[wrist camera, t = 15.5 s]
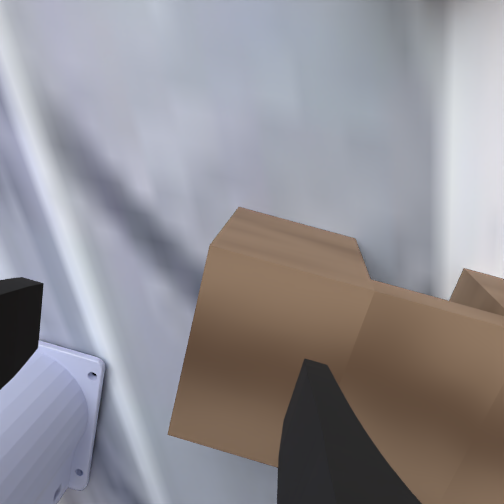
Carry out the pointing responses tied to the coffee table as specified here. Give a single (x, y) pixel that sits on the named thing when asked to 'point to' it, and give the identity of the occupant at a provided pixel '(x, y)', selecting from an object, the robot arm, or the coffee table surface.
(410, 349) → the brown notched block
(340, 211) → the coffee table surface
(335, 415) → the robot arm
